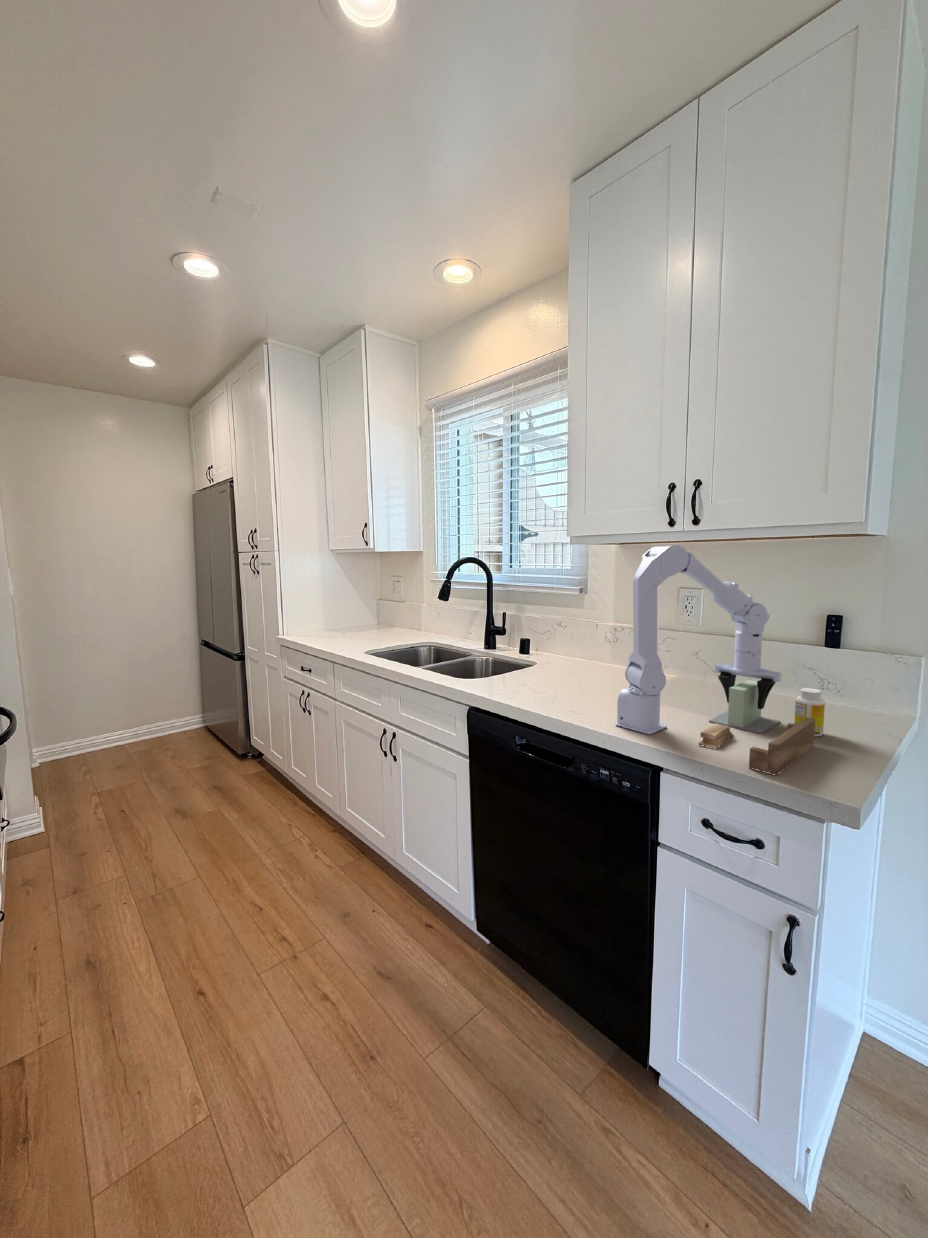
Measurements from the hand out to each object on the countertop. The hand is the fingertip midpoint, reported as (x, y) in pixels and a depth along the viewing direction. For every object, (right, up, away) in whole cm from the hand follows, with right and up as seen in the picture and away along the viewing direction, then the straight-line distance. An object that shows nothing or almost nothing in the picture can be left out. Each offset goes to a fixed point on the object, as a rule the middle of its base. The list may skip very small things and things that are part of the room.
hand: (745, 705), depth 125 cm
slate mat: (0, -4, +1) cm, 4 cm away
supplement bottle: (+10, -5, -8) cm, 14 cm away
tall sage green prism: (0, -4, 0) cm, 4 cm away
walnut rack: (-4, -7, -21) cm, 22 cm away
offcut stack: (-13, -6, -11) cm, 18 cm away
